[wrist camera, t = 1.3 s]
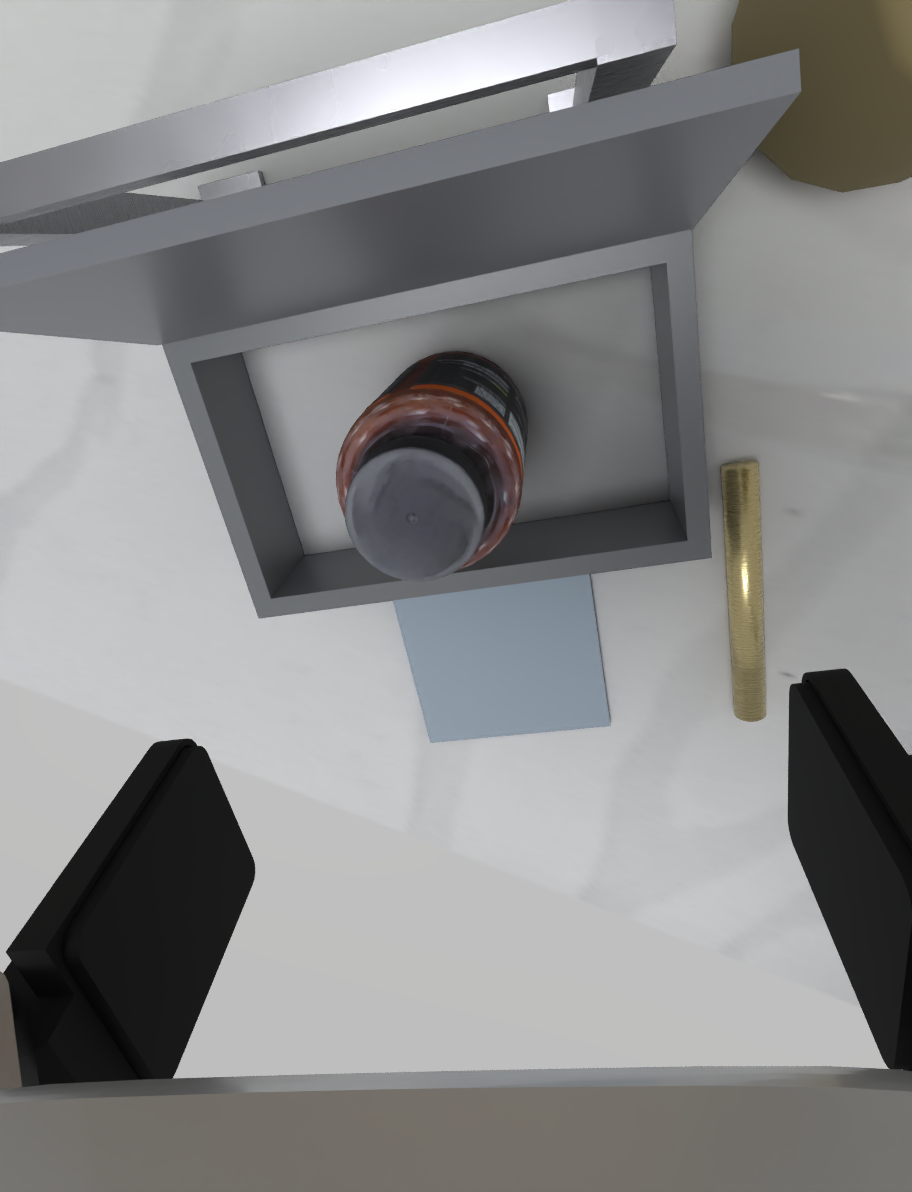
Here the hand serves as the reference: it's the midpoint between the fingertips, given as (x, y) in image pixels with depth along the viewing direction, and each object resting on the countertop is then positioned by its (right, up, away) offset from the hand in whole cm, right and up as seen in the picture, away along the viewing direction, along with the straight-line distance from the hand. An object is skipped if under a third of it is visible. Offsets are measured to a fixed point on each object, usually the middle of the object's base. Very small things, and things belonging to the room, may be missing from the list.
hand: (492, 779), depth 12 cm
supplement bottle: (-1, +10, +19) cm, 21 cm away
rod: (+11, +3, +20) cm, 23 cm away
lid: (-3, +11, +7) cm, 14 cm away
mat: (+2, 0, +23) cm, 23 cm away
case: (-1, +10, +19) cm, 21 cm away
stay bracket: (-2, +18, +15) cm, 23 cm away
